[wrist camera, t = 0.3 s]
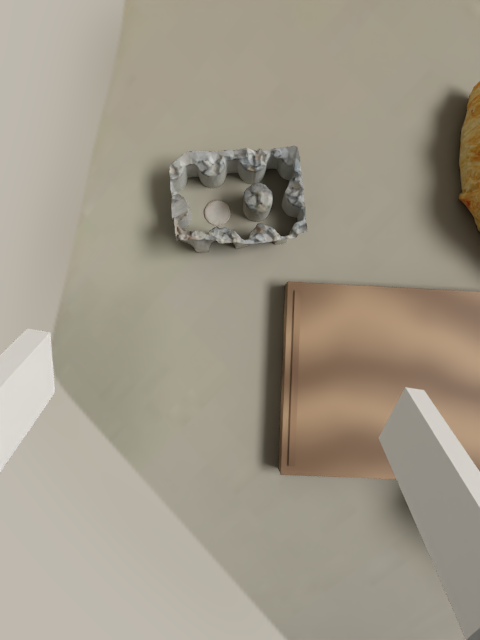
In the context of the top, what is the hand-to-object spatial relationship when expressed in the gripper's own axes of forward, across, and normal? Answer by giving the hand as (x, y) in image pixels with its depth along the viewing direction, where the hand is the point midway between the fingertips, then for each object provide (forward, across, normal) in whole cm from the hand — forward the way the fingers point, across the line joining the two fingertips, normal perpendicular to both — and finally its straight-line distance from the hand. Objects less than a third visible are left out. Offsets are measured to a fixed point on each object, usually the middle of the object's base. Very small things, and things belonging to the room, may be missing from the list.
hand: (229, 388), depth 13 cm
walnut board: (+13, -14, +8) cm, 21 cm away
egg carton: (+21, 0, -2) cm, 21 cm away
